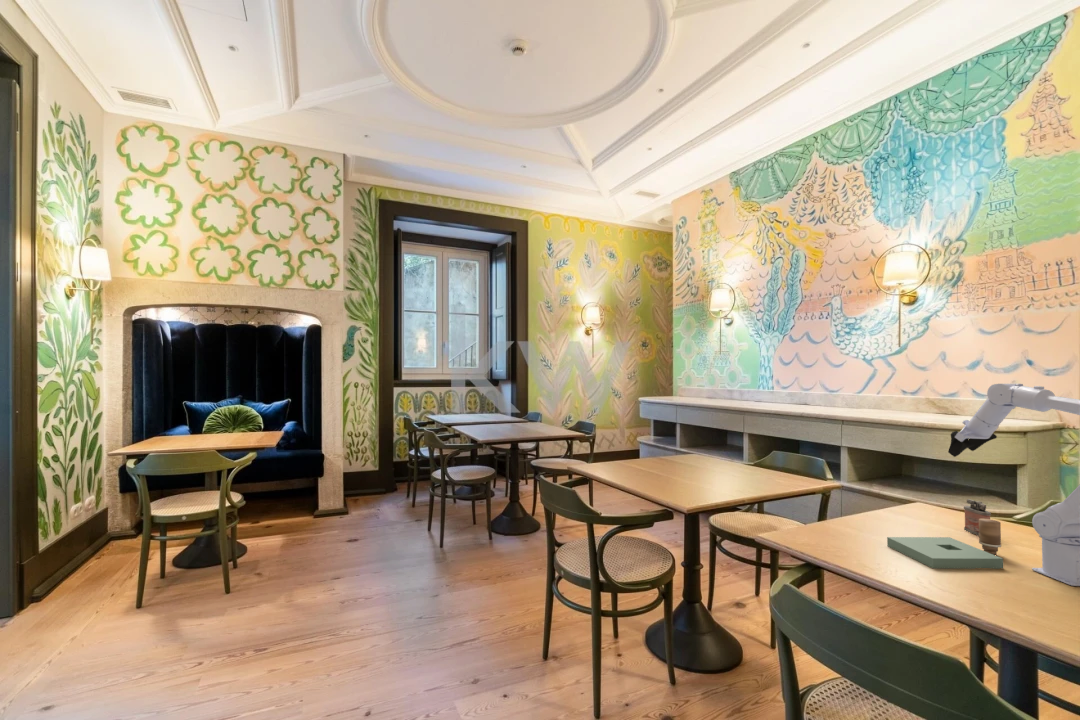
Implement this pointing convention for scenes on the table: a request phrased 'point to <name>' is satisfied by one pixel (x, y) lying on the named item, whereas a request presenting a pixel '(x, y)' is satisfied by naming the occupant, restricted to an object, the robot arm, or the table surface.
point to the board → (944, 552)
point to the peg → (990, 535)
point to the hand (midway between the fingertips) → (960, 451)
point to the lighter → (975, 515)
